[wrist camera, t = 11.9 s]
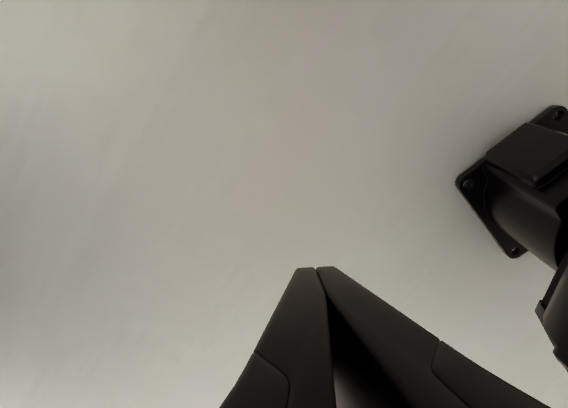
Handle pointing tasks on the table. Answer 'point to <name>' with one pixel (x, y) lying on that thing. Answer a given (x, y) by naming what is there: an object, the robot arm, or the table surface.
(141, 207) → the table surface
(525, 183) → the robot arm
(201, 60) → the table surface
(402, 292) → the table surface
